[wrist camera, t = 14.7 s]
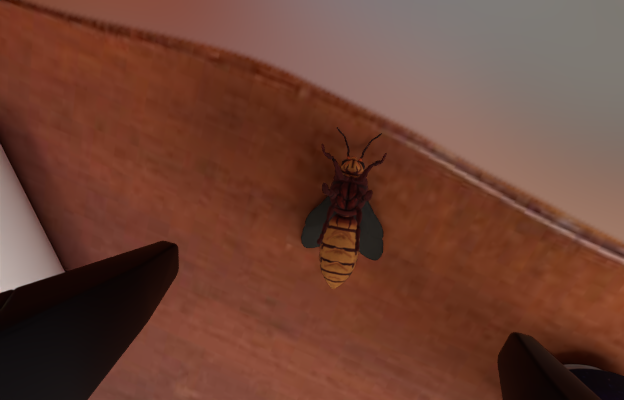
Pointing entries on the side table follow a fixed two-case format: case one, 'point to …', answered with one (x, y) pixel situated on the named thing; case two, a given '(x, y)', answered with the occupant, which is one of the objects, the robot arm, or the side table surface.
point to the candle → (21, 236)
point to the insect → (344, 221)
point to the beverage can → (599, 381)
